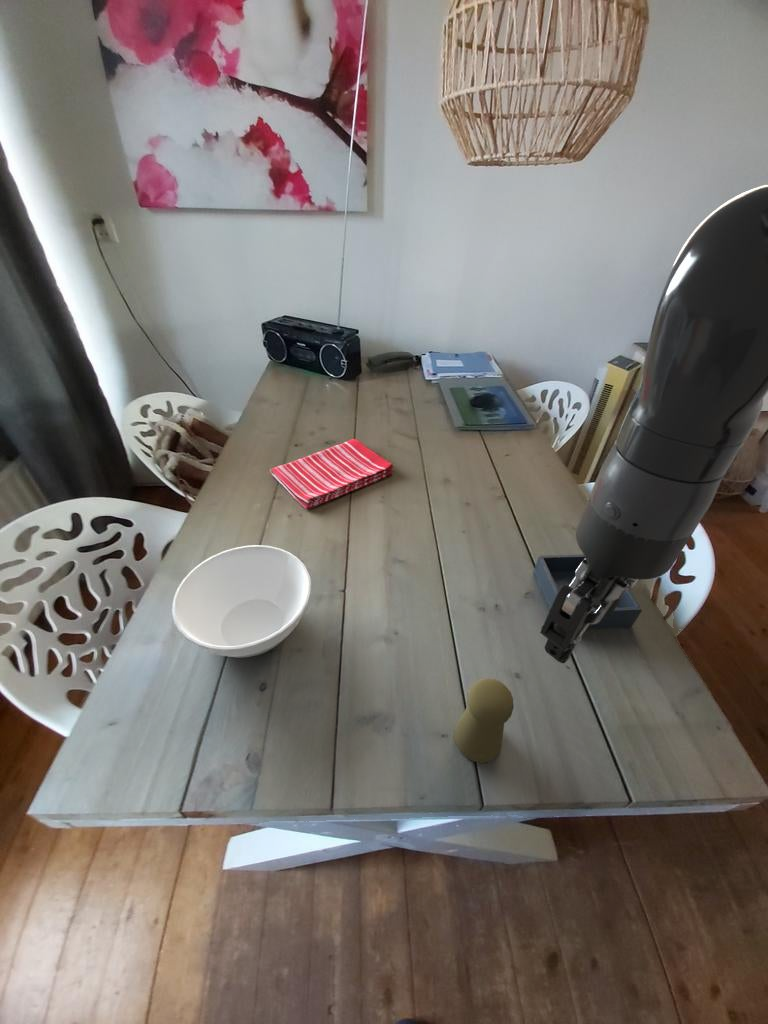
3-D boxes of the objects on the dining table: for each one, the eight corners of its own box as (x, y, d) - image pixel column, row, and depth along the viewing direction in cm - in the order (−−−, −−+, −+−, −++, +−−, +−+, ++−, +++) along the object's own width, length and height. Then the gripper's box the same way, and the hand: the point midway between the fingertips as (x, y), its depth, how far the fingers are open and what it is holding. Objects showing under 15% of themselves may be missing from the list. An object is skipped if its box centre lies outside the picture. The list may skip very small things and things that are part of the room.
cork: (506, 763, 54) (526, 721, 47) (456, 762, 54) (469, 720, 47) (496, 715, 59) (513, 670, 52) (451, 713, 59) (462, 668, 52)
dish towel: (396, 474, 102) (396, 464, 100) (307, 512, 91) (306, 502, 89) (354, 443, 112) (354, 434, 111) (269, 474, 101) (268, 464, 99)
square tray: (632, 626, 70) (642, 609, 67) (557, 629, 70) (565, 612, 67) (598, 570, 80) (607, 553, 77) (533, 572, 79) (538, 555, 76)
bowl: (160, 638, 67) (142, 604, 62) (256, 563, 79) (248, 529, 74) (249, 710, 58) (237, 677, 53) (340, 613, 71) (338, 578, 66)
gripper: (650, 577, 28) (574, 703, 38) (729, 492, 35) (648, 617, 46) (548, 518, 32) (505, 645, 43) (637, 453, 40) (582, 575, 50)
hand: (579, 631), depth 44 cm, fingers open, 8 cm apart
